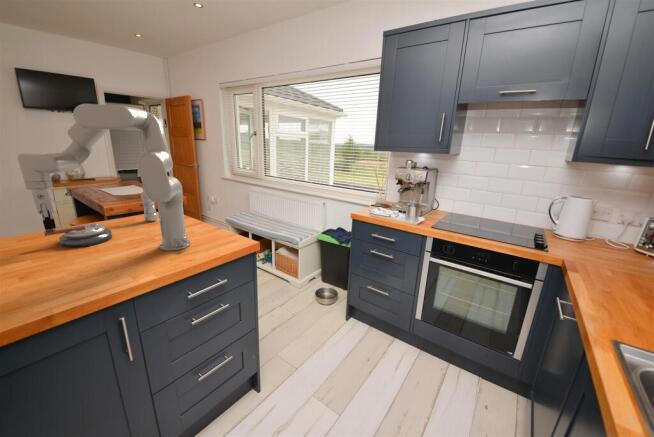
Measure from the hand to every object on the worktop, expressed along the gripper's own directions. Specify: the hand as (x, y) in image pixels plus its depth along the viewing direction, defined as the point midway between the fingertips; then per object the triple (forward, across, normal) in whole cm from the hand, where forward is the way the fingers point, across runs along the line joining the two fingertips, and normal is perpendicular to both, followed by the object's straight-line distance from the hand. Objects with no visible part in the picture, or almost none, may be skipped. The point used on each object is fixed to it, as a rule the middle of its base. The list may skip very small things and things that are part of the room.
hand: (50, 228), depth 113 cm
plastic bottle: (+10, +22, -39) cm, 46 cm away
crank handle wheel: (+6, +4, -7) cm, 11 cm away
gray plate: (+9, +5, -10) cm, 15 cm away
